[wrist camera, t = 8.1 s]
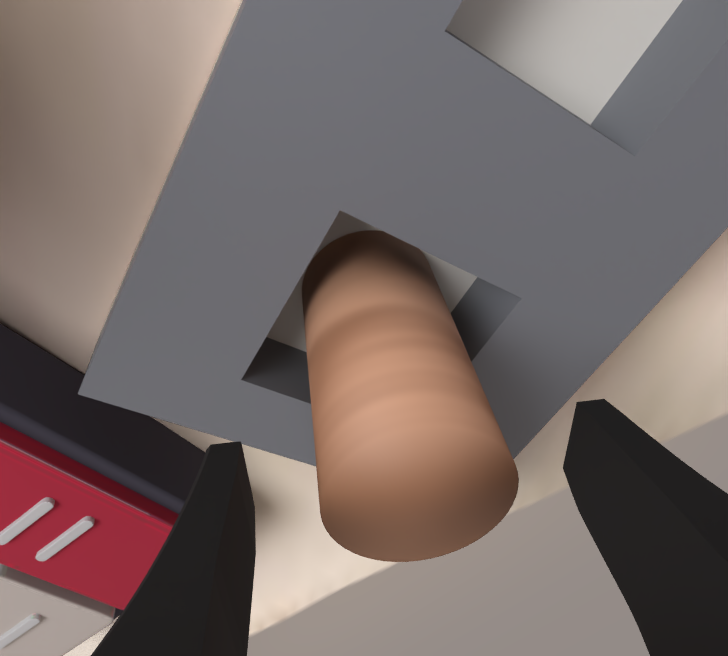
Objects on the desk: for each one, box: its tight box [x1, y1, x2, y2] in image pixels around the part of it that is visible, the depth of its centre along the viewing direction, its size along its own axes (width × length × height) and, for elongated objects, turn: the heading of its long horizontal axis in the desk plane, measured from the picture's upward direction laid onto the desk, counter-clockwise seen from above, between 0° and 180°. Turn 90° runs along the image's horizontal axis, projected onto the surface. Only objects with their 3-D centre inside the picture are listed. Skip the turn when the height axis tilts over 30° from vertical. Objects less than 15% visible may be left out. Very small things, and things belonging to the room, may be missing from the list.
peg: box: [302, 230, 519, 562], centre depth 16 cm, size 4×4×8 cm
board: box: [78, 0, 728, 466], centre depth 16 cm, size 13×20×3 cm, turn 150°
